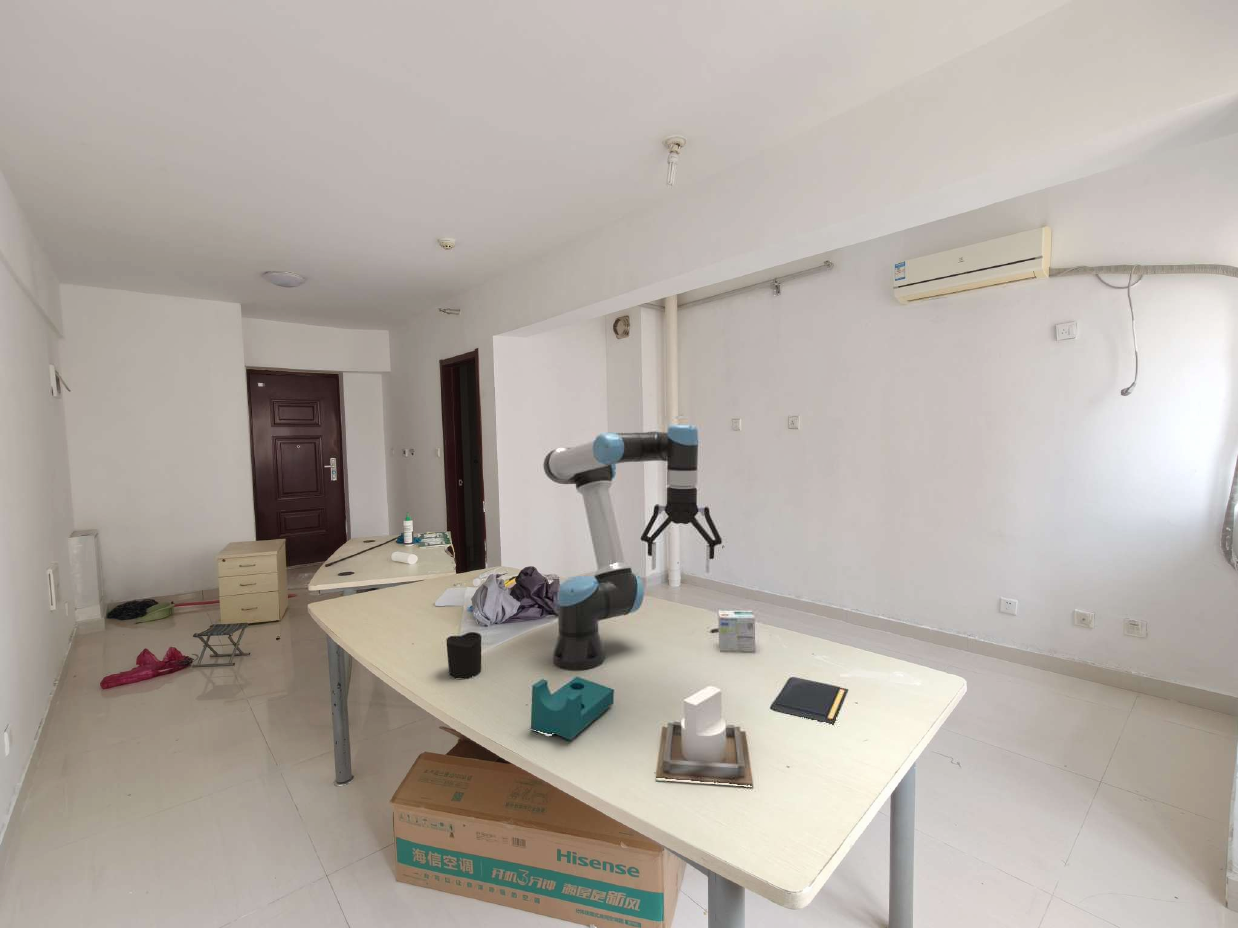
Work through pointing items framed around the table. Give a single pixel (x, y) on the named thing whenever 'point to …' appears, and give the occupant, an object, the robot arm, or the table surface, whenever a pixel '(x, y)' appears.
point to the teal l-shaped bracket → (568, 706)
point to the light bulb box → (736, 631)
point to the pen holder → (464, 655)
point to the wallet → (810, 700)
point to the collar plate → (727, 771)
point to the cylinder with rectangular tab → (703, 727)
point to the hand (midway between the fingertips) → (680, 569)
